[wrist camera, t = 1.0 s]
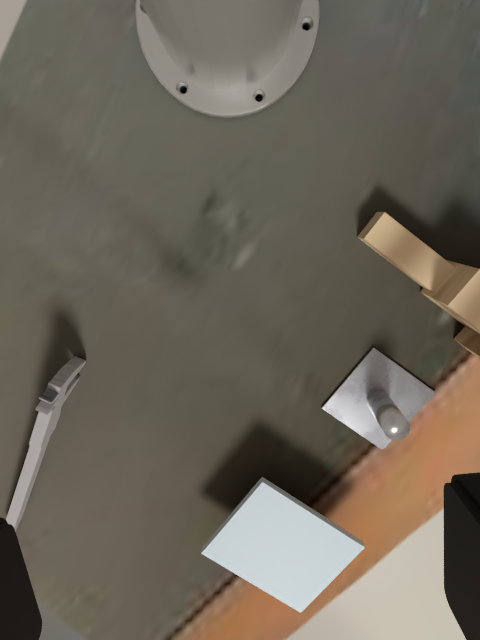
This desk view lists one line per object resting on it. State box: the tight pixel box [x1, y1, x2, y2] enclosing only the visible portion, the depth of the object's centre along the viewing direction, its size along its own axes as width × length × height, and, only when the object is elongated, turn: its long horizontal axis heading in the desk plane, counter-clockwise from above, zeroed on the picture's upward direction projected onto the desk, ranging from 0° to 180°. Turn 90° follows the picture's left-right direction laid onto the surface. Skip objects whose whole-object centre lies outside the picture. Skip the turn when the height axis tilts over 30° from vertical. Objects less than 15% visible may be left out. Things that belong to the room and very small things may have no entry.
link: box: [357, 212, 480, 359], centre depth 32 cm, size 18×6×5 cm, turn 54°
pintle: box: [322, 347, 435, 450], centre depth 35 cm, size 7×7×5 cm
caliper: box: [6, 356, 86, 532], centre depth 36 cm, size 20×1×6 cm, turn 154°
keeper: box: [201, 477, 365, 613], centre depth 39 cm, size 9×11×4 cm
